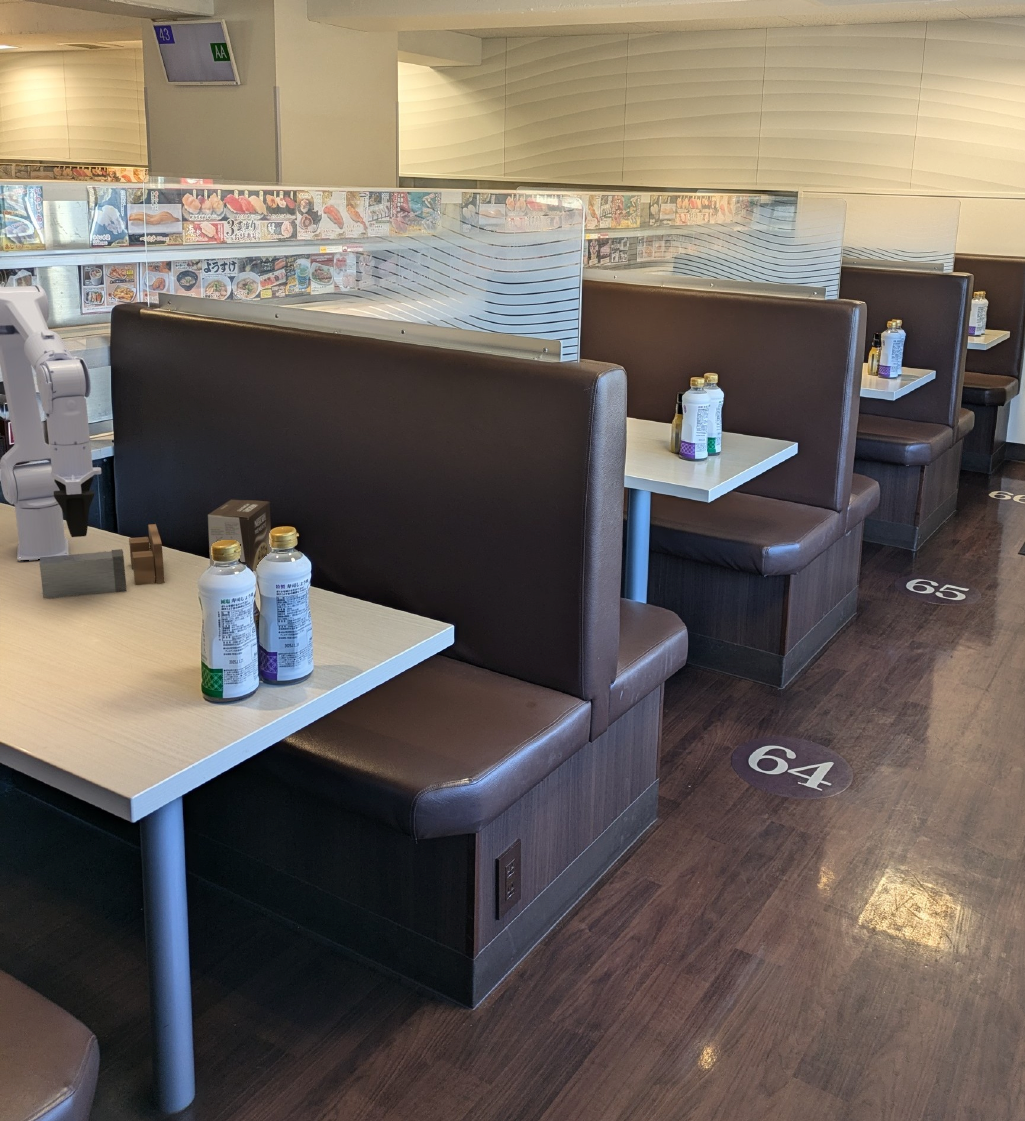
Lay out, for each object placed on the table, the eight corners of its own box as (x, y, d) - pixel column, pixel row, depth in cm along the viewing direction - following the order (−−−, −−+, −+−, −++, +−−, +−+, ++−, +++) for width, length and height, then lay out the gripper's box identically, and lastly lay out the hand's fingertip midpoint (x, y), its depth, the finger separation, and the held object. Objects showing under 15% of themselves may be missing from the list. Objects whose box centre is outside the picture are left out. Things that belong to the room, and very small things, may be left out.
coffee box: (253, 623, 164) (248, 517, 159) (211, 619, 165) (205, 514, 160) (275, 601, 172) (271, 500, 167) (235, 597, 173) (230, 497, 168)
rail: (43, 591, 173) (39, 555, 171) (125, 583, 178) (122, 549, 176) (43, 599, 170) (39, 563, 168) (126, 591, 174) (123, 556, 173)
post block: (130, 563, 187) (127, 526, 185) (158, 561, 188) (155, 524, 186) (135, 585, 177) (132, 546, 175) (164, 582, 179) (161, 543, 176)
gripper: (99, 449, 161) (108, 540, 165) (97, 430, 174) (105, 514, 178) (46, 452, 159) (56, 544, 163) (48, 432, 172) (57, 518, 176)
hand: (78, 529), depth 171 cm, fingers open, 7 cm apart
